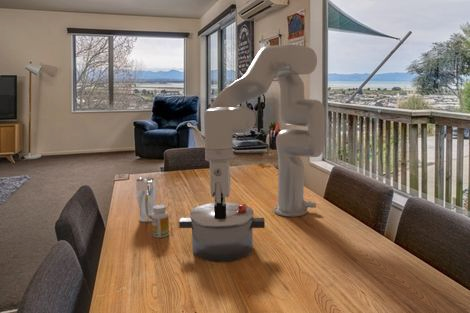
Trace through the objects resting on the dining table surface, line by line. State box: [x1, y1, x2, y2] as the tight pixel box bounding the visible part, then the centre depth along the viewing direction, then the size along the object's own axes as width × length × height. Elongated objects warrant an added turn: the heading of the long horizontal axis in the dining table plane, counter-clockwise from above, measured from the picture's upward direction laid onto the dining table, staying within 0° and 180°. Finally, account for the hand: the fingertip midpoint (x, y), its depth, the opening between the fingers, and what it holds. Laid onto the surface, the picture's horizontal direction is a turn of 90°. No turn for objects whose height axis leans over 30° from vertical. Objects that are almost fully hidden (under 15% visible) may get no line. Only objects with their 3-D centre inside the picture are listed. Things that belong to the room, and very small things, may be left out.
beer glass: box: [135, 176, 157, 223], centre depth 135 cm, size 7×7×15 cm
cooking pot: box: [178, 217, 266, 263], centre depth 111 cm, size 25×18×10 cm
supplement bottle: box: [151, 204, 170, 239], centre depth 121 cm, size 5×5×10 cm
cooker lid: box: [189, 201, 254, 228], centre depth 110 cm, size 19×19×3 cm
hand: (220, 217), depth 105 cm, fingers closed
